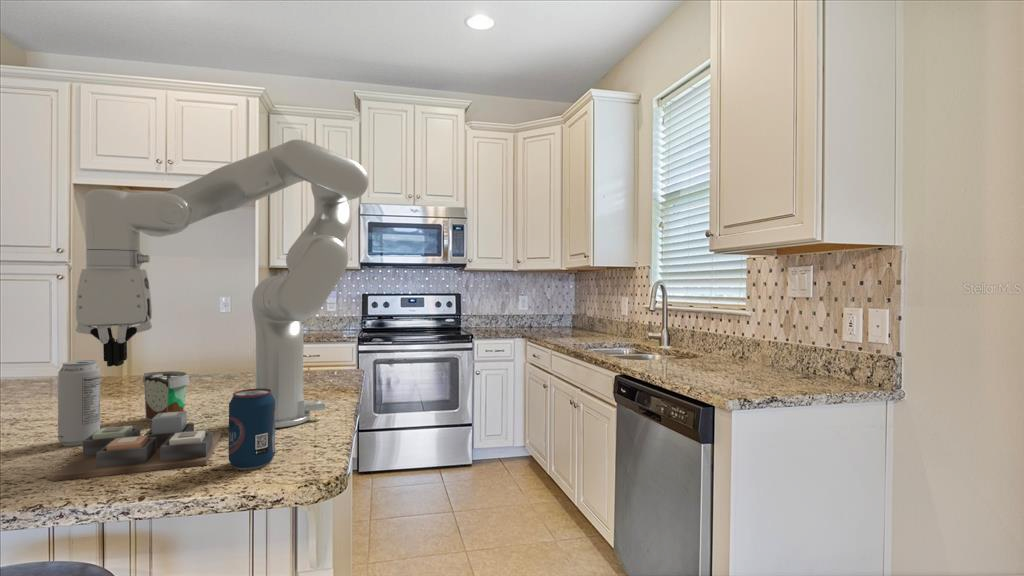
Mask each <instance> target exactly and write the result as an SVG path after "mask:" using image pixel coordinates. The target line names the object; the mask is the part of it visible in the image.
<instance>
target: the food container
mask: <svg viewBox="0 0 1024 576" xmlns="http://www.w3.org/2000/svg"><path fill="white" fill-rule="evenodd" d="M142 383H143V384H144V399H145V400H144V402H145V403H144V405H145V419H146V420H147V421H151V422H152V419H153V418H154V417H155V416H156V415H157V414H158V413H168V412H181V411H185V403H186V391H187V385H189V384H190V383H191V382H190V378H189V375H188V374H187V372H185V371H175V370H174V371H170V370H166V371H152V372H151V371H149V372H144V373H143V377H142Z"/></svg>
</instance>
